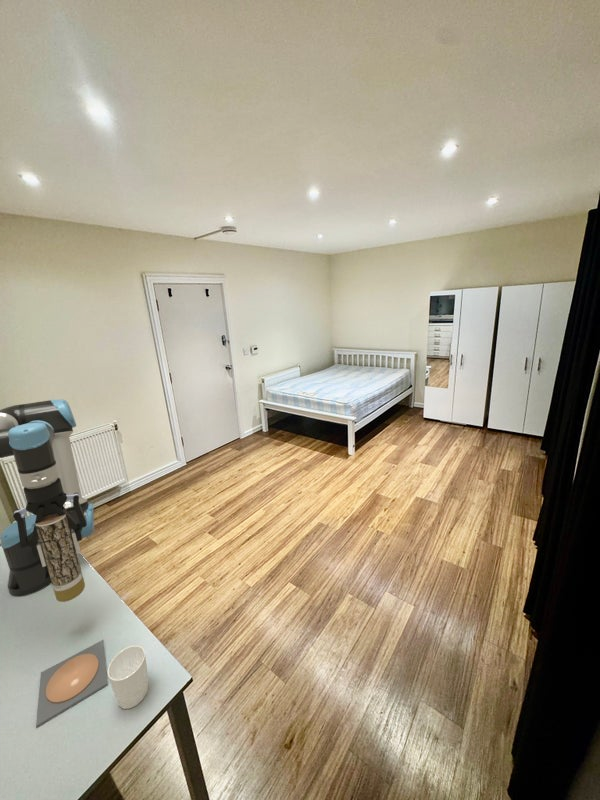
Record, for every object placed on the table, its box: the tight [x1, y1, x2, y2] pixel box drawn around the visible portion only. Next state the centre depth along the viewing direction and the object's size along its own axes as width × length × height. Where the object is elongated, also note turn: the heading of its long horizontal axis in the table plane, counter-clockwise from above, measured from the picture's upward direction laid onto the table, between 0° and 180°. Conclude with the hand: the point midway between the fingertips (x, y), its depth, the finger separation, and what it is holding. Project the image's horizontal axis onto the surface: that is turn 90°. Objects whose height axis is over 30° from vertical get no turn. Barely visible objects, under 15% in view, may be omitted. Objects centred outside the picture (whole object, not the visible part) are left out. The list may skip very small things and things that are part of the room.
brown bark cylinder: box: [35, 513, 86, 603], centre depth 85 cm, size 7×7×25 cm
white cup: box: [107, 645, 150, 710], centre depth 74 cm, size 8×8×10 cm
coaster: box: [35, 639, 109, 728], centre depth 79 cm, size 14×14×1 cm
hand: (61, 556), depth 85 cm, fingers closed on brown bark cylinder, 7 cm apart
